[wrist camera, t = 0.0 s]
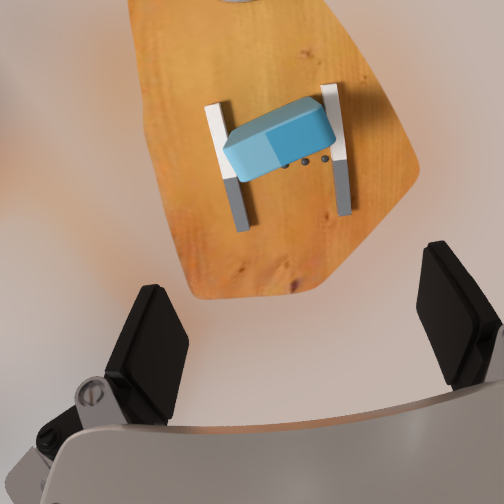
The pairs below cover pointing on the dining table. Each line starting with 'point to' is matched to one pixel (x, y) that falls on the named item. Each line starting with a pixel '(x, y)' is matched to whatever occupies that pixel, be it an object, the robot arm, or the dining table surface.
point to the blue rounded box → (278, 138)
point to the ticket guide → (337, 157)
